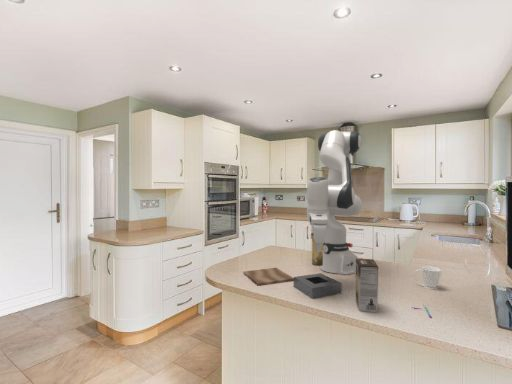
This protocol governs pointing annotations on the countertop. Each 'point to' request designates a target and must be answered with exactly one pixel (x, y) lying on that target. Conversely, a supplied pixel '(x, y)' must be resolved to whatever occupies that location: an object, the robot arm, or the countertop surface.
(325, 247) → the robot arm
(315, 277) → the metal socket
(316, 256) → the brass peg
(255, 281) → the walnut board
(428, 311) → the squeegee
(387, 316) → the countertop surface
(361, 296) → the coffee box
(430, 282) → the cup
